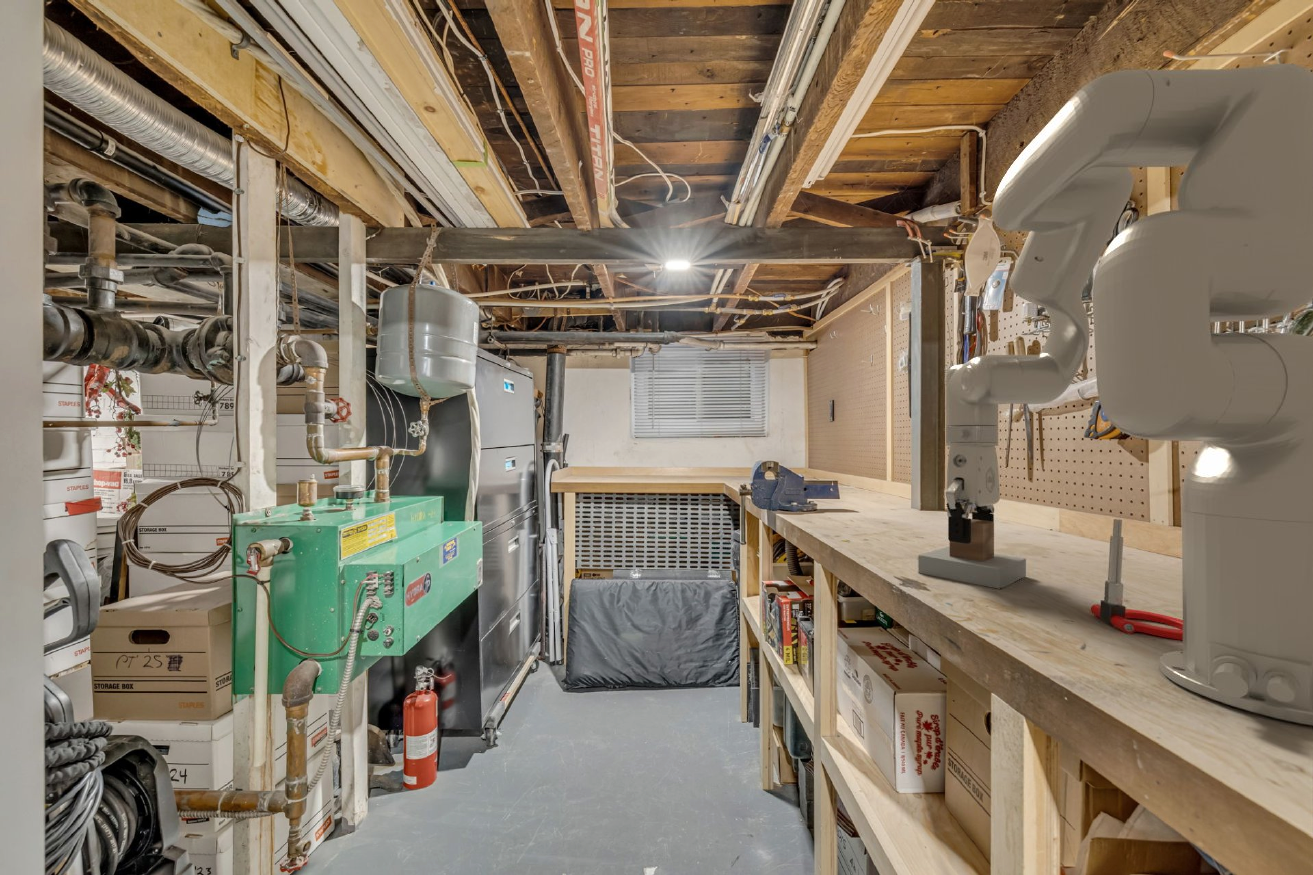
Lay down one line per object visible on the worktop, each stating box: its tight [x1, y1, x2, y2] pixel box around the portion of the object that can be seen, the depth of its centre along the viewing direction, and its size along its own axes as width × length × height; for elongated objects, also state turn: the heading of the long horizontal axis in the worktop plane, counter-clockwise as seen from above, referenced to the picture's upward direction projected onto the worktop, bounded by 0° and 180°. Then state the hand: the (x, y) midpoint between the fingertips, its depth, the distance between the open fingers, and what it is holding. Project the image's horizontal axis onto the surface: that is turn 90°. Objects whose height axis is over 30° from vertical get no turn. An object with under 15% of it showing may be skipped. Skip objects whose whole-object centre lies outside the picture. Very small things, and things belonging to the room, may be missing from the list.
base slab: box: [917, 546, 1027, 589], centre depth 85 cm, size 12×12×3 cm
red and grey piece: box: [1090, 518, 1183, 641], centre depth 61 cm, size 8×13×9 cm
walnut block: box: [949, 518, 995, 562], centre depth 85 cm, size 5×5×6 cm
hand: (971, 539), depth 85 cm, fingers open, 9 cm apart
